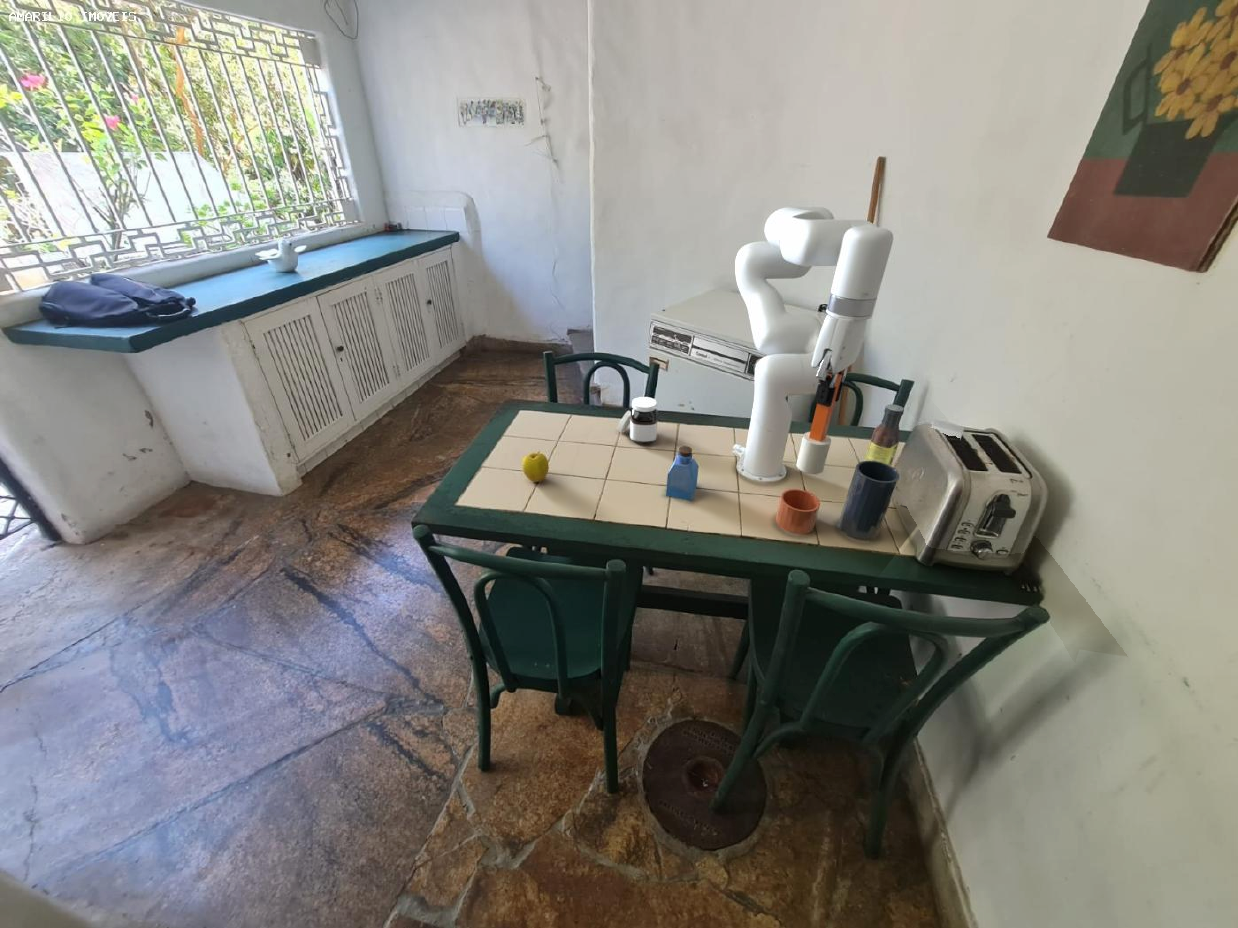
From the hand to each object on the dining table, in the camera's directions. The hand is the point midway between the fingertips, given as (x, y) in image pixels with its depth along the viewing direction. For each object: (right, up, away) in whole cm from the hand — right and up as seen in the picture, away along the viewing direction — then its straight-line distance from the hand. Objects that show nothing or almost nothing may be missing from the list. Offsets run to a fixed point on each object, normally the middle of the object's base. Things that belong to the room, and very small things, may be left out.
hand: (826, 401), depth 98 cm
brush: (0, -13, +8) cm, 15 cm away
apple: (-61, -16, +31) cm, 70 cm away
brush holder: (0, -26, +17) cm, 31 cm away
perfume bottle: (-25, -19, +27) cm, 41 cm away
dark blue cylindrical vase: (+13, -27, +15) cm, 34 cm away
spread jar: (-35, -4, +50) cm, 61 cm away
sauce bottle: (+25, -16, +33) cm, 45 cm away
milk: (+31, -22, +24) cm, 45 cm away
